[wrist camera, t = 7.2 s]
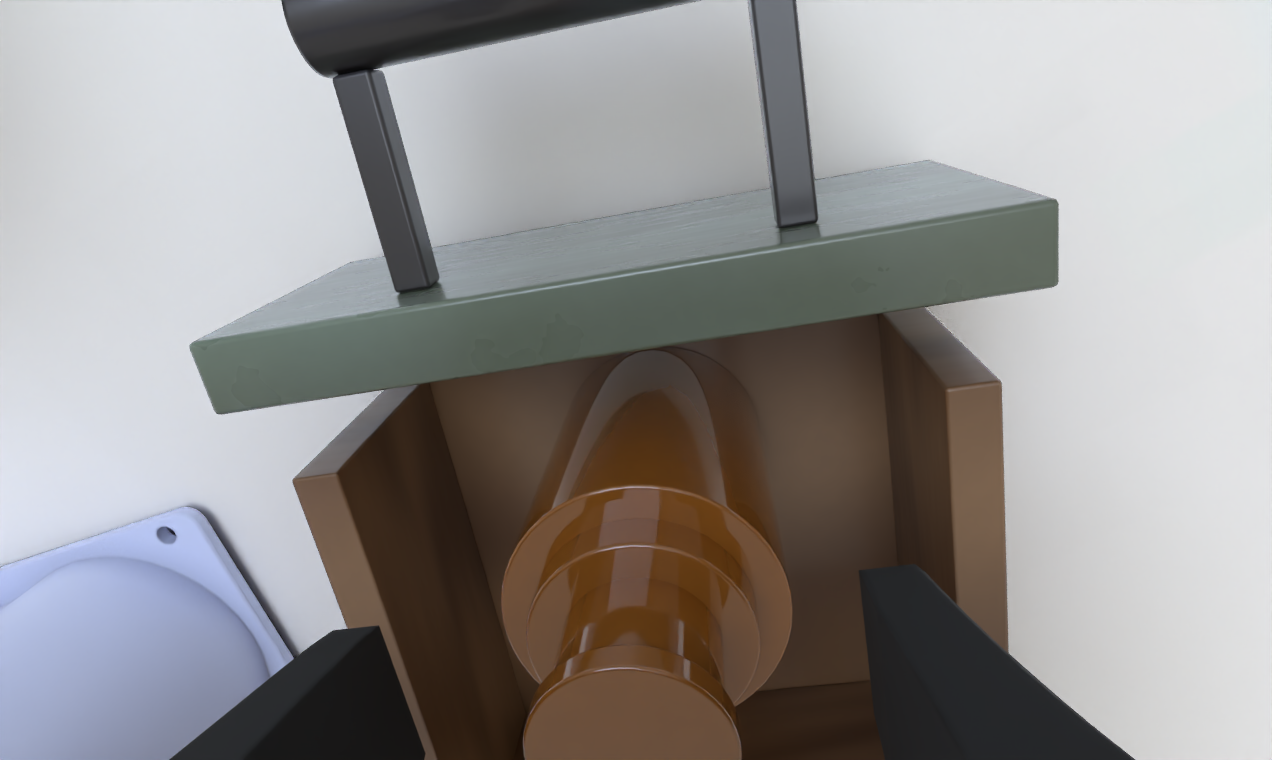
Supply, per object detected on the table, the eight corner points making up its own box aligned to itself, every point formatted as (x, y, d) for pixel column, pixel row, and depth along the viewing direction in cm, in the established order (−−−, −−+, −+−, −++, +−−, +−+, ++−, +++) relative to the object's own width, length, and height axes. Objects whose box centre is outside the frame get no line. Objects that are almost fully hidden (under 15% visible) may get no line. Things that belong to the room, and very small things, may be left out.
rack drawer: (275, 28, 15) (45, -4, 10) (918, -115, 14) (1062, -246, 8) (488, 709, 21) (417, 922, 16) (958, 665, 20) (1060, 886, 14)
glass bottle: (606, 544, 18) (533, 914, 10) (535, 381, 16) (385, 656, 9) (784, 493, 17) (862, 850, 9) (724, 318, 16) (753, 556, 8)
